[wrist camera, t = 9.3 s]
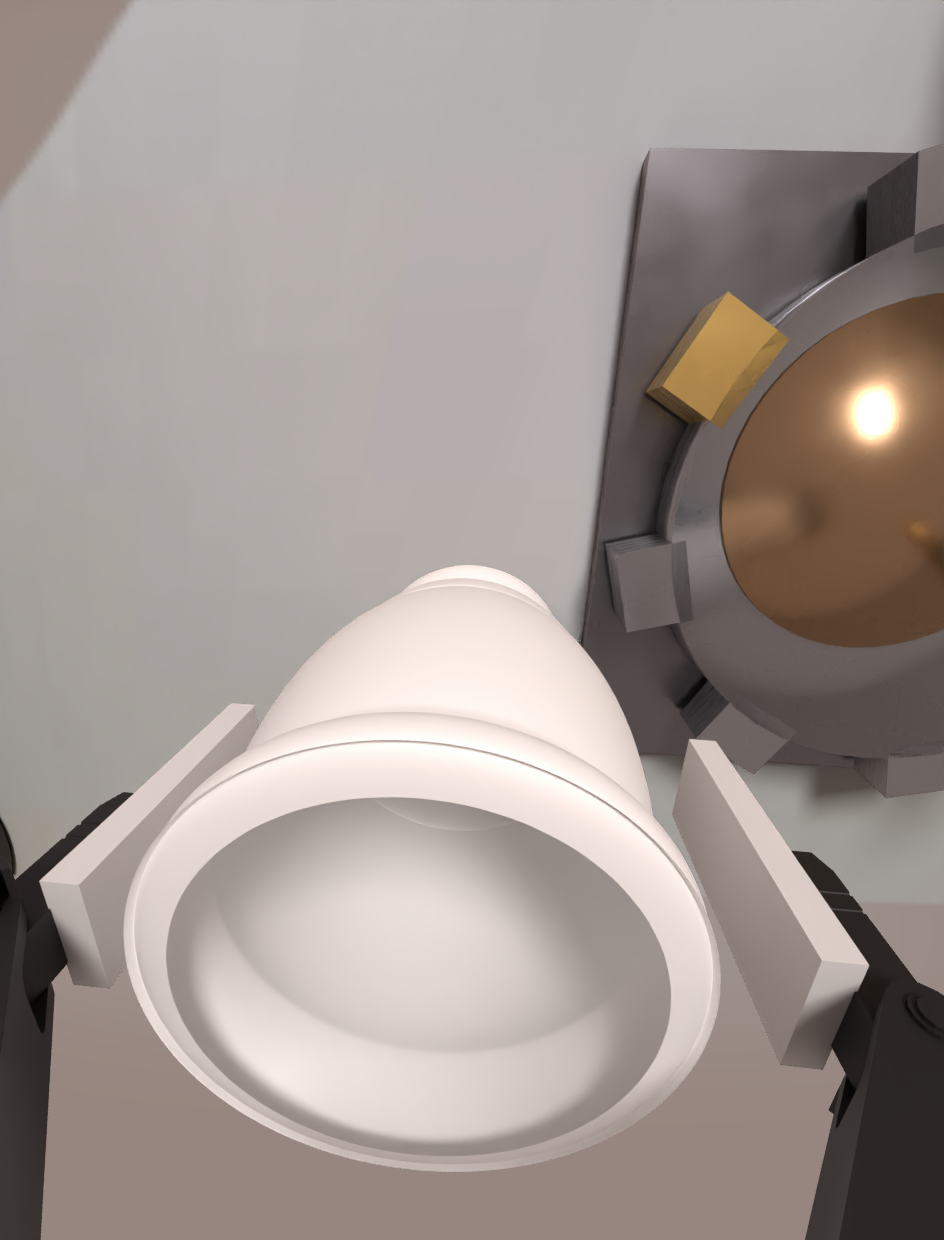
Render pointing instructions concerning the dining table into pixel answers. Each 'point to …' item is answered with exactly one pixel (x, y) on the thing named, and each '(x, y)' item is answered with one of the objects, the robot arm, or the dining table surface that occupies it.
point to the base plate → (653, 327)
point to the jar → (431, 899)
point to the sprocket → (813, 508)
